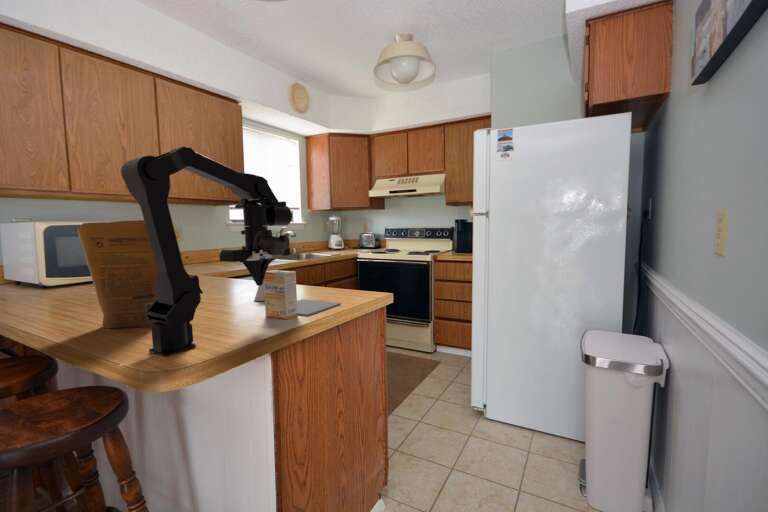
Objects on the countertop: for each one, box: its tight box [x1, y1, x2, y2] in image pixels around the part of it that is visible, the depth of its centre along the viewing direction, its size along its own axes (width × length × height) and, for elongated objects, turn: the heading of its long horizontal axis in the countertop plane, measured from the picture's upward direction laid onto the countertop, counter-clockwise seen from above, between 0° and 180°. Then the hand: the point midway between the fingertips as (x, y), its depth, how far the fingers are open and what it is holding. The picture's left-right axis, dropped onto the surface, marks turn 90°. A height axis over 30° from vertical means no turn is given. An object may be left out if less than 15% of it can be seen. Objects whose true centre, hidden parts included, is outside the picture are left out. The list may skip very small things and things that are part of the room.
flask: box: [254, 280, 265, 302], centre depth 122 cm, size 7×7×10 cm
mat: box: [297, 298, 342, 317], centre depth 109 cm, size 16×16×1 cm
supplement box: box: [264, 269, 298, 320], centre depth 98 cm, size 8×5×13 cm, turn 62°
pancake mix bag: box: [77, 219, 159, 330], centre depth 91 cm, size 7×19×28 cm, turn 95°
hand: (259, 285), depth 91 cm, fingers closed
